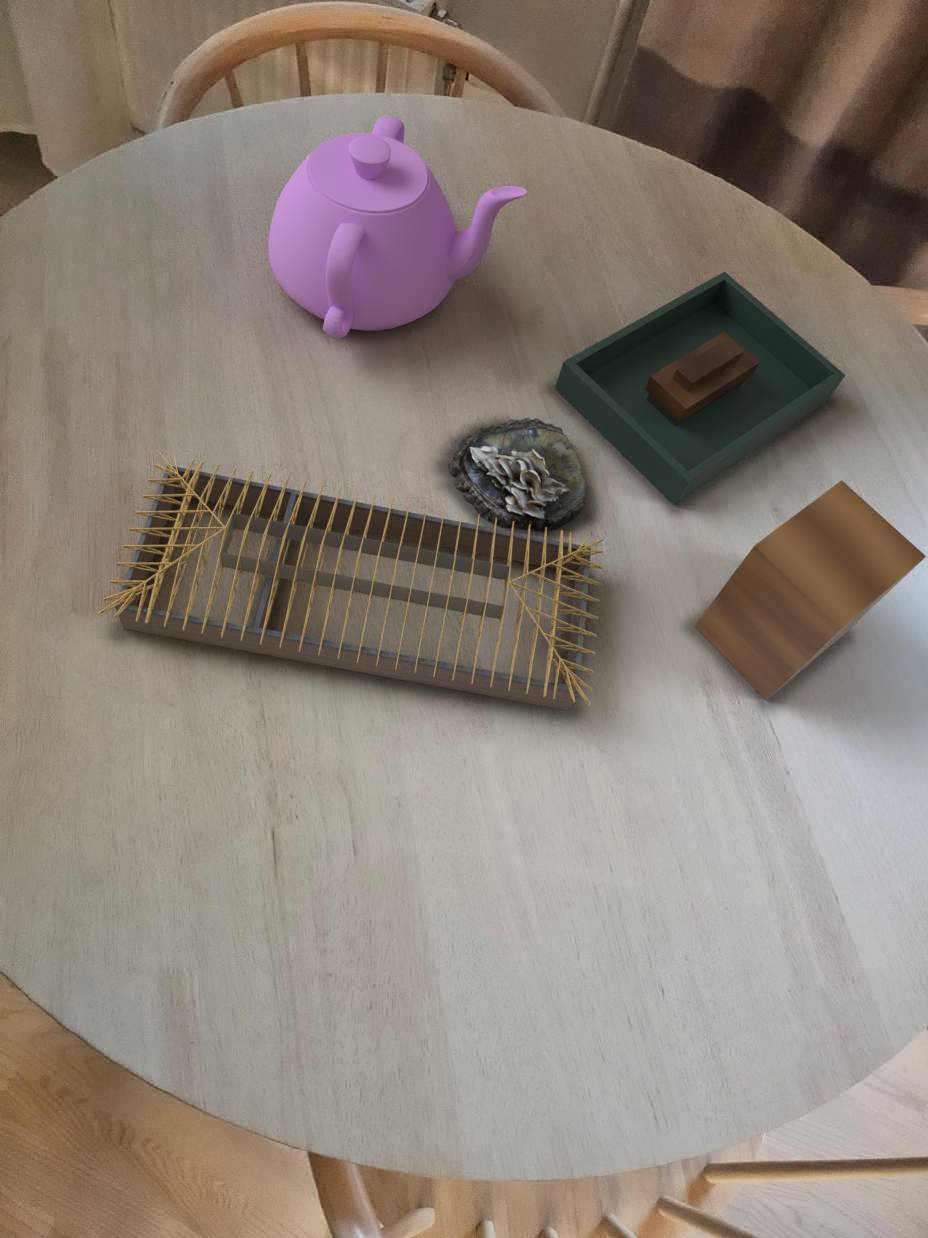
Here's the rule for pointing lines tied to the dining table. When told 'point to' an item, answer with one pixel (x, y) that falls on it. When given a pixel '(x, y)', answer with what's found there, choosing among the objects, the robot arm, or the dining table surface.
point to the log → (520, 475)
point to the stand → (806, 587)
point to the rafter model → (354, 581)
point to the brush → (700, 378)
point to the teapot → (373, 233)
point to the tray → (724, 430)
